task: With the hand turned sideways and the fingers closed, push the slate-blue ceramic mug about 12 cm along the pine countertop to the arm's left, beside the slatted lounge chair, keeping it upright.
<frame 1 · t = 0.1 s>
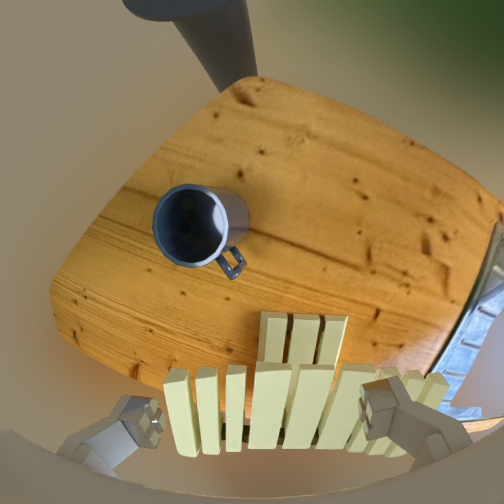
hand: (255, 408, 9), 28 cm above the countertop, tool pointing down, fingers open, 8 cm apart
mug: (218, 219, 36), point 1 cm above the countertop, tilted 8°
slatted lounge chair: (298, 356, 41), on the countertop
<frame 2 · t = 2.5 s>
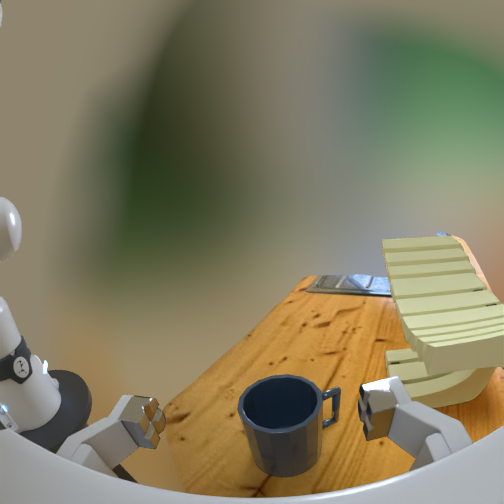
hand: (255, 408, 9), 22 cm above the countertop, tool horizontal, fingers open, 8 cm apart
mug: (286, 450, 26), on the countertop
slatted lounge chair: (434, 377, 31), on the countertop
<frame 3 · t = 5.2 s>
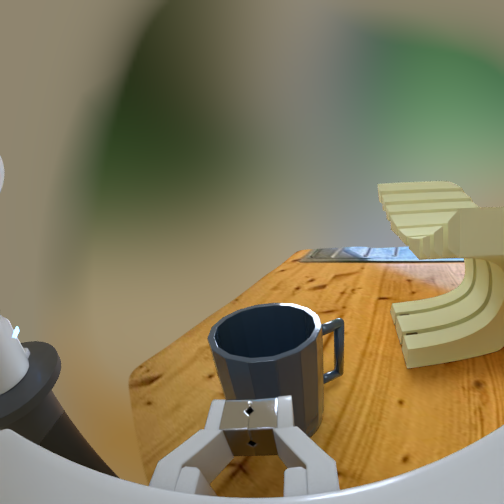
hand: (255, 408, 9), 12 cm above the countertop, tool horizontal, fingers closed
mug: (278, 416, 22), on the countertop
slatted lounge chair: (451, 330, 27), on the countertop
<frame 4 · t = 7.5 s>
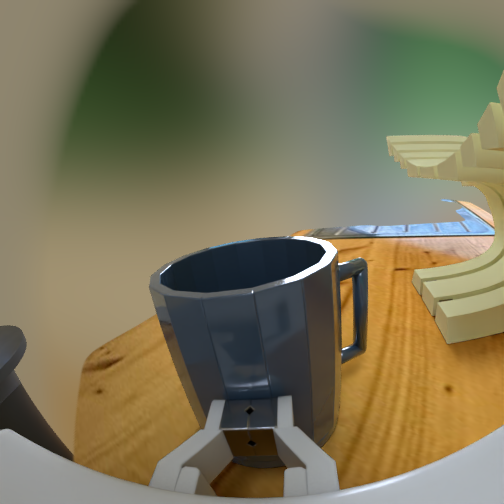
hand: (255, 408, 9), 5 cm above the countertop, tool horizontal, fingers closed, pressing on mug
mug: (270, 415, 14), on the countertop, touching gripper
slatted lounge chair: (488, 299, 20), on the countertop
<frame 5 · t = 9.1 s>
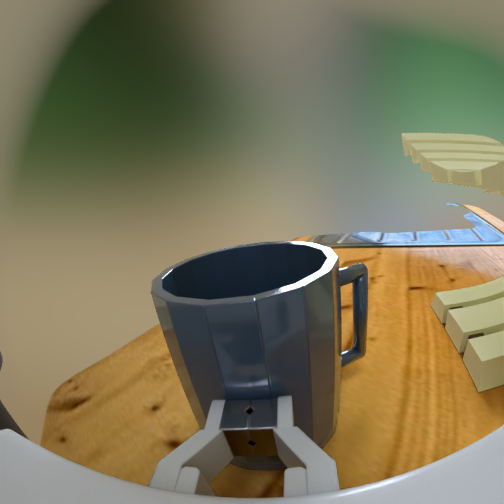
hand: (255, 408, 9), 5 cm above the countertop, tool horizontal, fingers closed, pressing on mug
mug: (270, 417, 14), on the countertop, touching gripper
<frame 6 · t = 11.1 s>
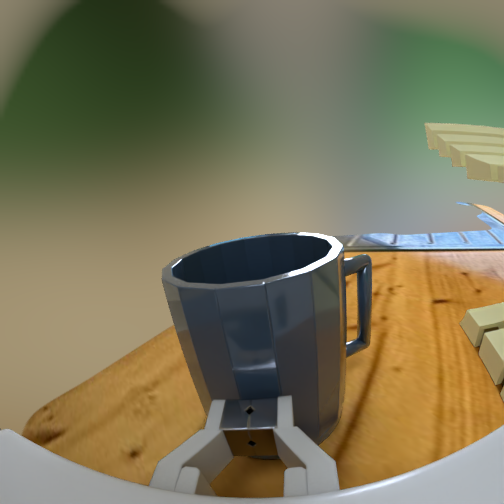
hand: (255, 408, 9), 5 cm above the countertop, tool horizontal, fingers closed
mug: (275, 407, 15), on the countertop
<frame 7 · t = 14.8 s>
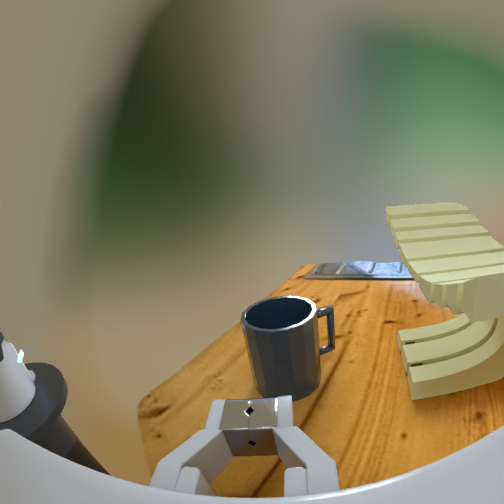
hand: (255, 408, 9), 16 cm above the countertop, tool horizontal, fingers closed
mug: (287, 379, 32), on the countertop
slatted lounge chair: (456, 357, 26), on the countertop
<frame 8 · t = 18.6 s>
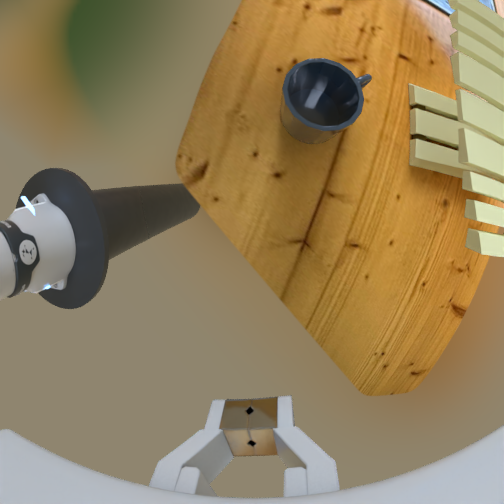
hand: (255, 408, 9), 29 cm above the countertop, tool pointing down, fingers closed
mug: (311, 115, 33), on the countertop
slatted lounge chair: (449, 135, 31), on the countertop
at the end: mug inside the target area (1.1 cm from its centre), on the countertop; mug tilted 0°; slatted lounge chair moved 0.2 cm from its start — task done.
